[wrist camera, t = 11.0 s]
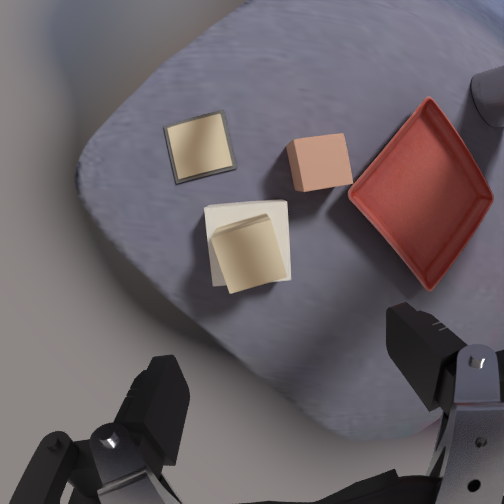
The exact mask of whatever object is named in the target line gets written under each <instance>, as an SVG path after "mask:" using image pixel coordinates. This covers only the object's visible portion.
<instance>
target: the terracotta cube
mask: <svg viewBox="0 0 504 504" xmlns="http://www.w3.org/2000/svg"><path fill="white" fill-rule="evenodd" d="M286 149H287V154H288V159H289V163H290V168H291V173H292V178H293V183H294V189H295V191H302V192H307V191H312V190H318V189H324V188H330V187H336V186H342V185H348V184H353V179H352V173H351V168H350V162H349V157H348V152H347V147H346V142H345V138H344V133H340V134H331V135H323V136H315V137H308V138H301V139H294V140H293V141H291V142H290V143H289V144H288V145H287V146H286Z"/></svg>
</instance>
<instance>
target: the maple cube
mask: <svg viewBox="0 0 504 504" xmlns="http://www.w3.org/2000/svg"><path fill="white" fill-rule="evenodd" d="M211 241H212V244H213V247H214V250H215V253H216V255H217V258H218V261H219V264H220V267H221V270H222V273H223V276H224V279H225V281H226V284H227V287H228V290H229V293H230V294H231V293H235V292H238V291H242V290H245V289H249V288H252V287H256V286H259V285H262V284H266V283H269V282H273V281H276V280H279V279H283V278H286V277H287V275H286V271H285V267H284V264H283V260H282V257H281V253H280V250H279V246H278V243H277V239H276V236H275V232H274V229H273V225H272V222H271V219H270V218H269V216H268V215H267V214H266V213H264V214H261V215H258V216H254V217H251V218H248V219H244V220H241V221H238V222H235V223H231V224H228V225H225V226H222V227H218V228H216V230H215V231H214V233H213V235H212V237H211Z"/></svg>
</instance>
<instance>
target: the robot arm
mask: <svg viewBox="0 0 504 504" xmlns="http://www.w3.org/2000/svg"><path fill="white" fill-rule="evenodd" d="M471 88H472V95H473V99H474V102H475V104H476V107H477V109H478V111H479V113H480V114H481V116H482V117H483V119H484V120H485V121H486V122H487V123H488V124H489V125H491V126H493V127H504V66H501V67H497V68H494V69H491V70H488V71H485V72H482V73H479V74H476V75H475V76H474V77H473V79H472V84H471ZM386 347H387V351H388V354H389V356H390V358H391V359H392V360H393V362H394V363H395V364H396V366H397V367H398V369H399V370H400V371H401V373H402V374H403V375H404V377H405V378H406V380H407V381H408V382H409V384H410V385H411V386H412V388H413V389H414V391H415V392H416V393H417V395H418V396H419V398H420V399H421V401H422V402H423V403H424V405H425V406H426V408H427V409H428V411H429V412H430V411H432V410H434V409H436V408H438V407H441V408H442V410H443V412H442V415H441V420H440V426H439V430H438V435H437V440H436V444H435V448H434V452H433V455H432V459H431V462H430V465H429V467H428V470H427V472H426V475H425V476H423V475H412V476H402V477H398V475H397V473H396V470H395V469H393V470H390V471H387V472H385V473H382V474H380V475H377V476H374V477H371V478H368V479H365V480H362V481H359V482H356V483H354V484H352V485H350V486H348V487H346V488H344V489H342V490H340V491H338V492H336V493H334V494H332V495H330V496H328V497H326V498H324V499H321V500H319V501H316V502H309V503H307V502H304V503H303V502H276V501H264V502H255V503H241V504H504V496H503V492H504V350H501V351H498V352H494V350H492V349H491V348H490V347H488V346H485V345H481V344H472V345H467V344H466V343H465V342H463V341H462V340H461V339H460V338H459V337H458V336H456V335H455V334H454V333H453V332H452V331H451V330H449V329H448V328H446V326H445V325H443V324H442V323H440V322H439V320H437V319H436V318H435V317H434V316H433V315H431V314H429V313H426V312H423V311H416V310H415V309H414V308H413V307H412V306H410V305H409V304H408V303H406V302H405V303H402V304H398V305H395V306H392V307H389V308H388V309H387V311H386ZM189 401H190V392H189V388H188V385H187V382H186V380H185V378H184V376H183V374H182V371H181V369H180V367H179V365H178V362H177V360H176V358H175V357H174V356H173V355H164V356H155V357H153V358H152V360H151V362H150V364H149V366H148V368H147V370H143V371H142V372H141V373H140V374H139V375H138V376H137V377H136V378H135V379H134V381H133V383H132V385H131V387H130V390H129V391H128V393H127V397H125V399H124V401H123V403H122V405H121V407H120V409H119V412H118V414H117V416H116V418H115V420H114V422H112V423H107V424H104V425H102V426H100V427H99V428H97V429H96V430H95V431H94V432H93V433H92V435H91V437H90V439H88V440H82V441H75V442H73V441H72V440H71V438H70V437H69V436H68V435H67V434H66V433H65V432H62V431H55V432H52V433H50V434H48V435H47V436H45V437H44V438H43V439H42V441H41V442H40V444H39V446H38V447H37V449H36V451H35V453H34V455H33V457H32V458H31V460H30V462H29V464H28V466H27V468H26V470H25V472H24V474H23V476H22V478H21V480H20V482H19V484H18V486H17V488H16V490H15V492H14V494H13V496H12V498H11V500H10V503H9V504H60V498H61V496H62V493H63V490H64V488H65V485H66V483H67V481H68V482H69V483H70V484H71V485H72V486H73V487H74V489H73V492H72V495H71V497H70V500H69V503H68V504H184V503H183V502H182V500H181V499H180V497H179V496H178V495H177V493H176V492H175V490H174V489H173V488H172V486H171V485H170V483H169V482H168V480H167V479H166V477H165V476H164V475H163V473H162V468H163V465H167V466H168V465H169V466H175V465H176V460H177V455H178V451H179V445H180V441H181V437H182V432H183V428H184V423H185V418H186V414H187V410H188V406H189Z"/></svg>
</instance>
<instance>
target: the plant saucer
mask: <svg viewBox="0 0 504 504" xmlns="http://www.w3.org/2000/svg"><path fill="white" fill-rule="evenodd" d="M348 198H349V200H350V201H351V202H352V203H353V204H354V205H355V206H356V207H357V208H358V209H359V210H360V212H361V213H362V214H363V215H364V216H365V217H366V218H367V219H368V220H369V221H370V222H371V224H372V225H373V226H374V227H375V228H376V229H377V230H378V231H379V232H380V234H381V235H382V236H383V237H384V238H385V239H386V241H387V242H388V243H389V244H390V245H391V246H392V248H393V249H394V250H395V251H396V252H397V254H398V255H399V256H400V257H401V259H402V260H403V261H404V262H405V264H406V265H407V266H408V267H409V269H410V270H411V271H412V272H413V274H414V275H415V276H416V278H417V279H418V280H419V281H420V283H421V284H422V285H423V287H424V288H425V289H426V291H432V290H433V289H434V288H435V287H436V285H437V284H438V283H439V281H440V280H441V279H442V278H443V277H444V275H445V274H446V272H447V271H448V270H449V269H450V267H451V266H452V264H453V263H454V262H455V260H456V259H457V258H458V256H459V255H460V253H461V252H462V250H463V249H464V248H465V246H466V245H467V243H468V242H469V240H470V239H471V237H472V236H473V234H474V233H475V231H476V229H477V228H478V226H479V225H480V223H481V222H482V220H483V218H484V217H485V215H486V213H487V211H488V210H489V208H490V206H491V205H492V203H493V200H494V196H493V193H492V191H491V189H490V187H489V185H488V183H487V181H486V179H485V178H484V176H483V174H482V172H481V170H480V168H479V166H478V165H477V163H476V161H475V160H474V158H473V156H472V154H471V153H470V151H469V149H468V148H467V146H466V145H465V143H464V141H463V140H462V138H461V137H460V135H459V134H458V132H457V131H456V129H455V128H454V126H453V125H452V124H451V122H450V121H449V119H448V118H447V117H446V115H445V114H444V112H443V111H442V110H441V108H440V107H439V106H438V105H437V103H436V102H435V101H434V100H433V99H432V98H431V97H426V98H425V99H424V100H423V102H422V103H421V104H420V105H419V107H418V108H417V109H416V110H415V111H414V113H413V114H412V115H411V116H410V117H409V119H408V120H407V121H406V122H405V123H404V125H403V126H402V127H401V128H400V130H399V131H398V132H397V133H396V134H395V136H394V137H393V138H392V139H391V141H390V142H389V143H388V144H387V145H386V147H385V148H384V149H383V150H382V152H381V153H380V154H379V155H378V156H377V157H376V159H375V160H374V161H373V162H372V163H371V164H370V166H369V167H368V168H367V169H366V170H365V171H364V173H363V174H362V175H361V176H360V177H359V178H358V180H357V181H356V182H355V183H354V184H353V185H352V186H351V188H350V189H349V190H348Z"/></svg>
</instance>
